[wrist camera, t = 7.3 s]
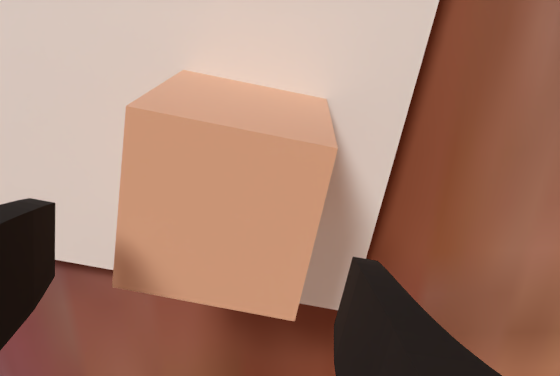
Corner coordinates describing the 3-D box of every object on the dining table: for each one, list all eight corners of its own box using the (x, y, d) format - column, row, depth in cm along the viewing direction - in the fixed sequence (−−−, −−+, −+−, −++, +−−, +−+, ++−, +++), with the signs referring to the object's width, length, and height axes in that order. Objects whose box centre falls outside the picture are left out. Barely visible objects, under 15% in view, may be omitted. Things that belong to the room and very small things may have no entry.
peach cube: (167, 201, 21) (112, 286, 15) (183, 69, 19) (126, 105, 13) (297, 226, 21) (294, 321, 15) (326, 98, 19) (338, 148, 13)
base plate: (-26, 230, 23) (-43, 242, 22) (-53, -207, 17) (-78, -222, 16) (348, 297, 23) (350, 312, 22) (459, -103, 17) (470, -110, 16)
